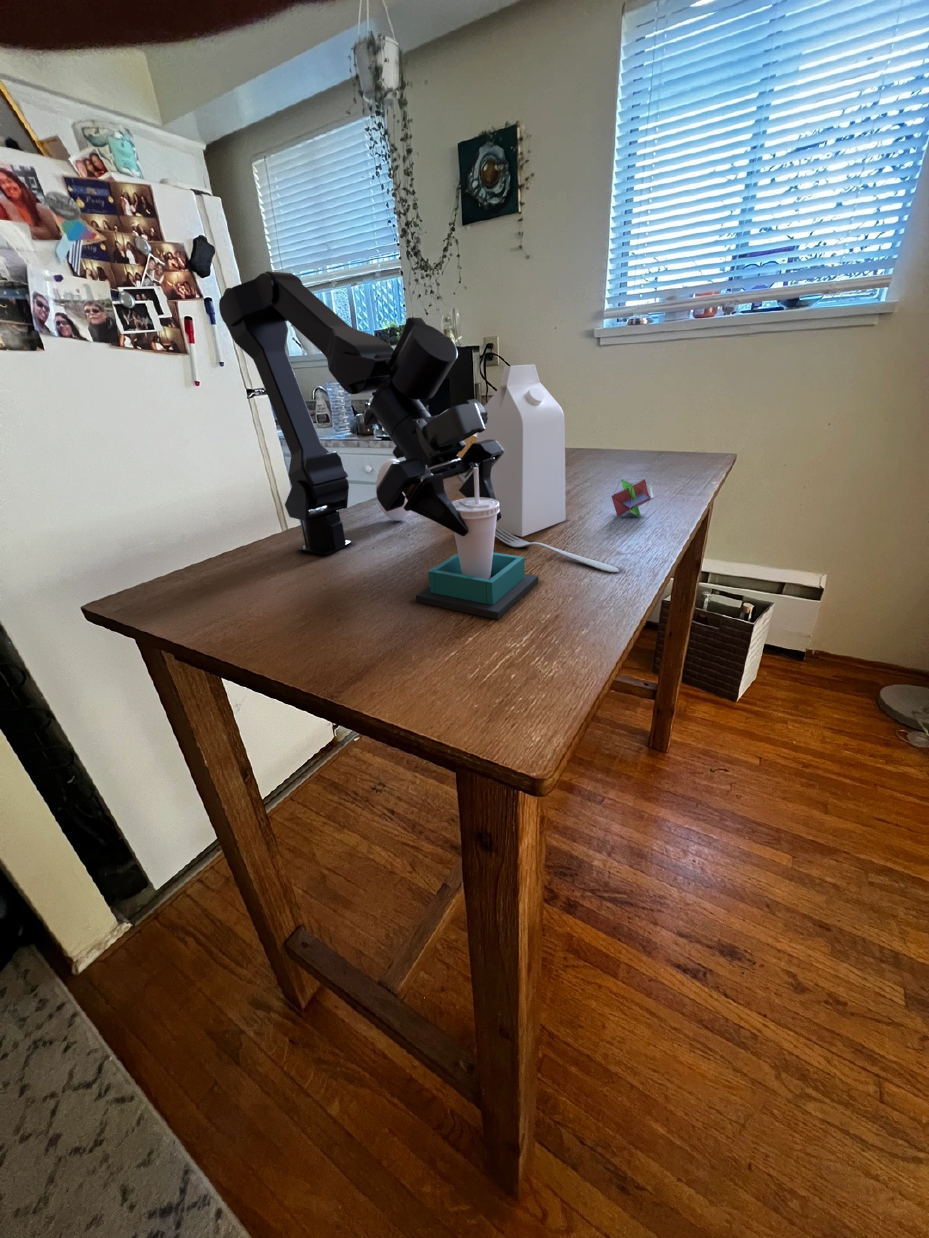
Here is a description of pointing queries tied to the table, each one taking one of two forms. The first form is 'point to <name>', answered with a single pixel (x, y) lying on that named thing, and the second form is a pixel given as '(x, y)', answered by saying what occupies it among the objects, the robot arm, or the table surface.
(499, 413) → the milk
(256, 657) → the table surface
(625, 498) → the geometric puzzle
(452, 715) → the table surface
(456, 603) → the dock pad
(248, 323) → the robot arm
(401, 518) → the egg
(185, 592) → the table surface
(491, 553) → the smoothie
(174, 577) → the table surface
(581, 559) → the fork
